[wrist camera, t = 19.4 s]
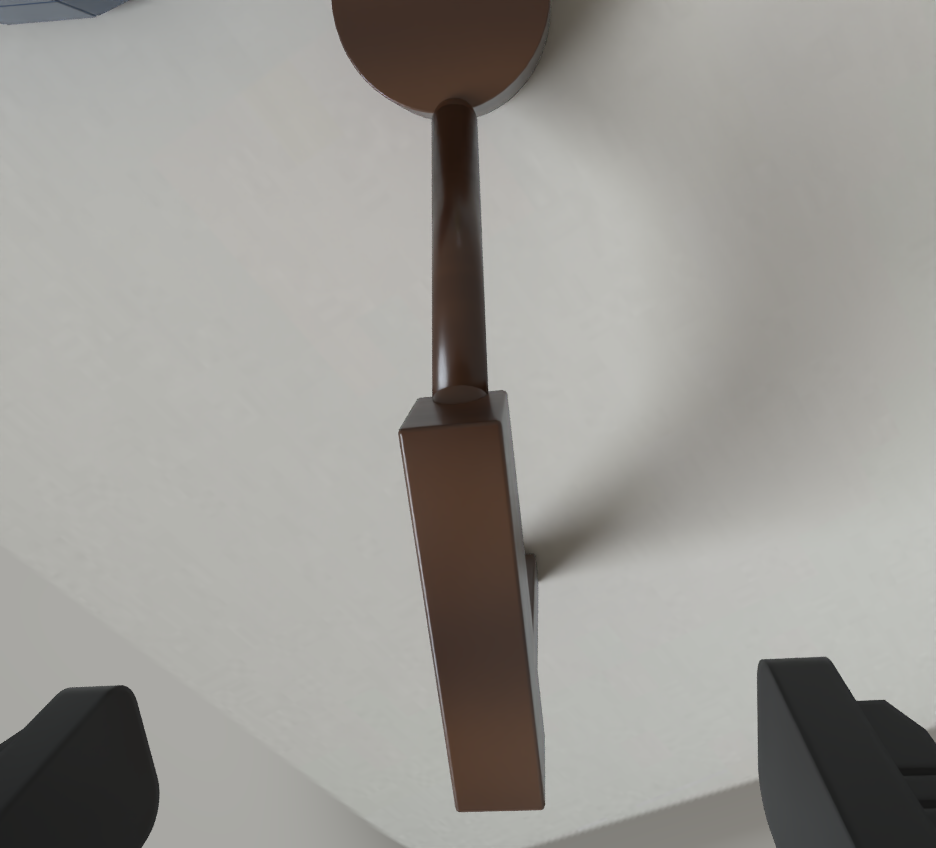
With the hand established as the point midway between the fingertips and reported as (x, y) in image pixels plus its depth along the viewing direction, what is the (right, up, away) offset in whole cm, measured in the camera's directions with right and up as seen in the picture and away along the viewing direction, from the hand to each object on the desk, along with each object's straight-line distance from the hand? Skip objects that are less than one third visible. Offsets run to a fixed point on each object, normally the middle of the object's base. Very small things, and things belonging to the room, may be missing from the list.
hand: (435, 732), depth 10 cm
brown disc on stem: (+1, +8, +14) cm, 16 cm away
